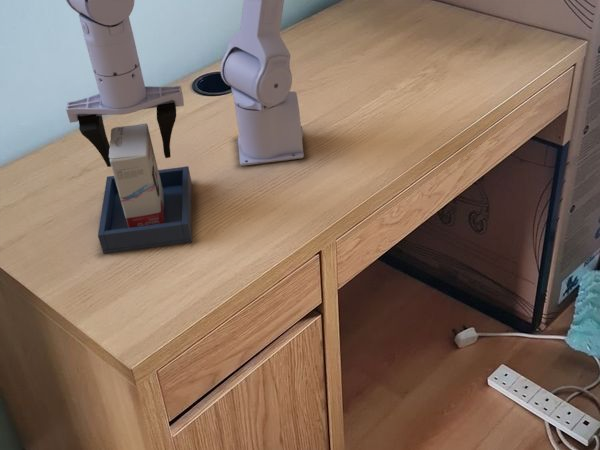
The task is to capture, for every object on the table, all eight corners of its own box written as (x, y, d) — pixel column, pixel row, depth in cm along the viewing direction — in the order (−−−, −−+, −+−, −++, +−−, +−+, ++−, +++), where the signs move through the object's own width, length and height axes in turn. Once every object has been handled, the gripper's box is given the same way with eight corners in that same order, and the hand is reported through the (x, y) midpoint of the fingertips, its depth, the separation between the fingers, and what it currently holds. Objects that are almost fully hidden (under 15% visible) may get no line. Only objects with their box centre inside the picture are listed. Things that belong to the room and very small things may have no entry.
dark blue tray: (191, 183, 114) (188, 166, 112) (191, 242, 103) (187, 223, 101) (111, 194, 113) (106, 176, 112) (103, 253, 103) (97, 235, 101)
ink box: (165, 229, 105) (147, 155, 97) (128, 235, 104) (108, 161, 97) (164, 193, 111) (148, 120, 104) (130, 198, 111) (111, 126, 104)
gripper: (174, 43, 101) (191, 134, 109) (59, 60, 100) (86, 150, 108) (175, 68, 95) (194, 162, 104) (54, 85, 94) (83, 179, 102)
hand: (139, 158), depth 105 cm, fingers open, 7 cm apart
